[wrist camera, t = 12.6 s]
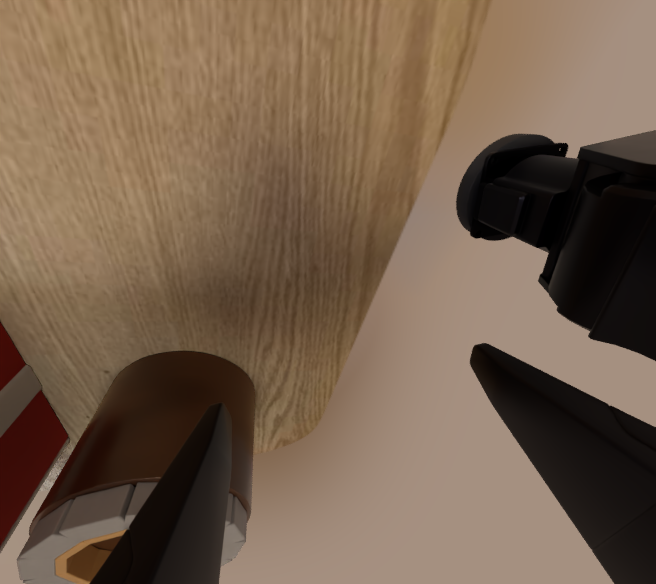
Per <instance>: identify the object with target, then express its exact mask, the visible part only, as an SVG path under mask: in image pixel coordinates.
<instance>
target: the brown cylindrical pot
mask: <svg viewBox="0 0 656 584" xmlns="http://www.w3.org/2000/svg"><path fill="white" fill-rule="evenodd" d="M219 402H223V403H224V404H225V406H226V408H227V410H228V412H229V413H230V415H231V419H232V464H231V479H230V488H229V493H231V494H233V497H234V496H236V497H237V498H238V500H239V501H240V503H241V504H242V506H243V507H244V509H245V510H246V512H247V521H248V520H249V518H250V514H251V497H252V470H253V443H254V416H255V389H254V386H253V384H252V382H251V380H250V378H249V377H248V376H247V374H246V373H245V372H244V371H243V370H241V369H240V368H239V367H237V366H236V365H234V364H233V363H231V362H229V361H227V360H225V359H222V358H220V357H216V356H213V355H209V354H205V353H199V352H187V351H178V352H166V353H160V354H156V355H152V356H148V357H146V358H143V359H140V360H138V361H136V362H134V363H132V364H131V365H129V366H128V367H126V368H125V369H124V370H123V371H122V372H120V373H119V374H118V376H117V377H116V378H115V380H114V381H113V383H112V385H111V387H110V388H109V390H108V392H107V393H106V395H105V397H104V399H103V400H102V402H101V404H100V405H99V407H98V409H97V411H96V412H95V414H94V416H93V418H92V419H91V421H90V423H89V424H88V426H87V428H86V430H85V431H84V433H83V435H82V436H81V438H80V440H79V442H78V443H77V445H76V447H75V448H74V450H73V452H72V454H71V455H70V457H69V459H68V461H67V462H66V464H65V466H64V467H63V469H62V471H61V473H60V474H59V476H58V478H57V479H56V481H55V483H54V485H53V486H52V488H51V490H50V491H49V493H48V495H47V497H46V499H45V500H44V502H43V504H42V505H41V507H40V509H39V510H38V512H37V514H36V516H35V518H34V519H33V521H32V523H31V525H30V530H29V535H31V534H32V532H33V530H34V528H35V527H36V525H37V523H38V522H39V521H40V520H41V519H43V518H44V517H45V516H47V515H48V514H50V513H51V512H53V511H54V510H55V509H57V508H58V507H60V506H61V505H63V504H64V503H66V502H67V501H68V500H70V499H73V500H75V498H76V497H78V496H82V495H86V494H90V493H94V492H98V491H102V490H106V489H110V488H114V487H118V486H122V485H126V484H132V485H133V486H134V487H135V488H136V485H137V483H138V482H159V480H160V479H161V477H162V476H163V474H164V473H165V471H166V470H167V468H168V467H169V465H170V464H171V462H172V461H173V459H174V458H175V456H176V455H177V453H178V452H179V450H180V449H181V447H182V446H183V444H184V443H185V441H186V440H187V438H188V437H189V435H190V434H191V432H192V431H193V429H194V428H195V426H196V425H197V423H198V422H199V420H200V419H201V417H202V416H203V414H204V413H205V411H206V410H207V408H208V407H209V406H210V405H211V404H214V403H219ZM122 536H123V535H122ZM122 536H118V537H115V538H111V539H107V540H103V541H100V542H96V543H92V544H91V545H92V546H94V547H96V548H98V549H101V550H109V551H112V550H113V549H114V548H115V546H116V545H117V543H118V542H119V540H120V539H121V537H122Z"/></svg>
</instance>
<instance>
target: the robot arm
mask: <svg viewBox="0 0 656 584" xmlns="http://www.w3.org/2000/svg"><path fill="white" fill-rule="evenodd" d="M559 150H560V151H559ZM567 151H568V144H567V143H553V144H546V145H539V146H532V147H524V148H517V149H510V150H503V151H496V152H491V153H489V154H488V155H487V156H486V158H485V160H484V165H483V170H482V175H481V180H480V185H479V190H478V195H477V200H476V205H475V210H474V215H473V220H472V225H471V230H470V236H472V237H473V238H476V239H478V238H484V237H490V236H495V235H501V234H507V235H509V236H513V237H515V238H517V239H519V240H521V241H523V242H525V243H528V244H530V245H532V246H534V247H536V248H539V249H542V250H544V251H546V252H548V253H549V254H548V257H547V260H546V264H545V266H544V270H543V273H542V274H540V277H539V280H538V282H539V283H540V284H541V285H542V286H543V287H544V289H545V290H546V291H547V292H548V293H549V295H550V297H551V298H552V300H553V301H554V302H555V304H556V305H557V306H558V307H557V311H558V313H560V314H561V315H562V316H564V317H565V318H567V319H568V320H569V321H571V322H573V323H575V324H577V325H579V326H581V327H582V328H585V329H587V330H589V331H590V333H589V335H588V337H589V338H590V339H593V340H597V341H601V342H605V343H609V344H614V345H617V346H620V347H623V348H626V349H629V350H631V351H634V352H637V353H640V354H642V355H644V356H646V357H648V358H651V359H653V360H655V361H656V130H655V131H650V132H645V133H641V134H637V135H632V136H627V137H623V138H619V139H614V140H610V141H605V142H601V143H596V144H592V145H587V146H584V147H581V148H580V151H579V154H578V157H577V158H578V159H575V158H567V157H566V154H567ZM493 157H494V160H493V162H492V163H491V160H492V158H493ZM477 231H478V233H476V232H477ZM470 365H471V367H472V369H473V371H474V373H475V374H476V376H477V378H478V380H479V382H480V384H481V385H482V387H483V389H484V391H485V393H486V394H487V396H488V398H489V400H490V402H491V403H492V405H493V407H494V408H495V410H496V411H497V412H498V414H499V416H500V417H501V418H502V420H503V421H504V423H505V424H506V426H507V427H508V429H509V430H510V431H511V433H512V435H513V436H514V437H515V439H516V440H517V442H518V443H519V445H520V446H521V448H522V449H523V450H524V452H525V453H526V455H527V456H528V458H529V459H530V461H531V462H532V464H533V465H534V467H535V468H536V469H537V471H538V472H539V474H540V475H541V477H542V478H543V480H544V481H545V483H546V484H547V485H548V487H549V489H550V490H551V491H552V493H553V494H554V496H555V497H556V499H557V500H558V502H559V503H560V505H561V506H562V507H563V509H564V510H565V512H566V513H567V515H568V516H569V518H570V519H571V521H572V522H573V523H574V525H575V526H576V528H577V529H578V531H579V532H580V534H581V535H582V537H583V538H584V540H585V541H586V543H587V544H588V545H589V547H590V548H591V549H592V551H593V553H594V555H595V556H596V557H597V559H598V560H599V562H600V563H601V565H602V566H603V568H604V569H605V571H606V572H607V574H608V575H609V576H610V578H611V579H612V581H613V582H614V584H656V427H654V426H652V425H650V424H647V423H645V422H643V421H641V420H639V419H637V418H635V417H633V416H631V415H629V414H627V413H625V412H623V411H621V410H619V409H617V408H615V407H612V406H609V405H608V404H607V403H605V402H603V401H601V400H599V399H597V398H595V397H593V396H591V395H589V394H587V393H585V392H583V391H581V390H579V389H577V388H575V387H573V386H571V385H569V384H567V383H565V382H563V381H561V380H559V379H557V378H555V377H553V376H551V375H549V374H547V373H545V372H543V371H541V370H539V369H537V368H535V367H533V366H531V365H529V364H527V363H525V362H523V361H521V360H519V359H517V358H515V357H513V356H511V355H509V354H507V353H505V352H503V351H501V350H499V349H497V348H495V347H493V346H491V345H489V344H486V343H482V344H478V345H475V346H474V347H473V350H472V354H471V358H470ZM231 464H232V419H231V415H230V413H229V412H228V410H227V408H226V406H225V404H224V403H223V402H219V403H214V404H211V405H210V406H209V407H208V408H207V410H206V411H205V413H204V414H203V416H202V417H201V419H200V420H199V422H198V423H197V425H196V426H195V428H194V429H193V431H192V432H191V434H190V435H189V437H188V438H187V440H186V441H185V443H184V444H183V446H182V447H181V449H180V450H179V452H178V453H177V455H176V456H175V458H174V459H173V461H172V462H171V464H170V465H169V467H168V468H167V470H166V471H165V473H164V474H163V476H162V477H161V479H160V480H159V482H158V483H157V485H156V486H155V488H154V489H153V491H152V492H151V494H150V495H149V497H148V498H147V500H146V501H145V503H144V504H143V506H142V507H141V509H140V510H139V512H138V513H137V515H136V516H135V518H134V519H133V521H132V522H131V524H130V525H129V529H127V530H126V531H125V533H124V534H123V536H122V537H121V539H120V540H119V542H118V543H117V545H116V546H115V548H114V549H113V550H112V552H111V553H110V555H109V556H108V558H107V559H106V561H105V562H104V563H103V565H102V566H101V568H100V569H99V571H98V572H97V574H96V575H95V576H94V578H93V579H92V580H91V582H90V583H89V584H219V575H220V567H221V558H222V549H223V541H224V532H225V523H226V514H227V505H228V497H229V488H230V479H231Z"/></svg>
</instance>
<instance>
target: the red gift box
mask: <svg viewBox="0 0 656 584" xmlns="http://www.w3.org/2000/svg"><path fill="white" fill-rule="evenodd" d="M41 388H42V386H41V384H40V382H39V381H38V379H37V377H36V376H35V374H34V372H33V370H32V369H31V367H30V366H28V365H26V364H25V363H24V361H23V359H22V358H21V356H20V354H19V353H18V351H17V349H16V348H15V346H14V344H13V343H12V341H11V339H10V337H9V336H8V334H7V332H6V331H5V329H4V327H3V326H2V324H1V322H0V553H1V551H2V550H3V548H4V546H5V544H6V543H7V541H8V540H9V538H10V537H11V535H12V533H13V532H14V530H15V528H16V527H17V525H18V524H19V522H20V520H21V519H22V517H23V515H24V514H25V512H26V510H27V509H28V507H29V505H30V504H31V502H32V501H33V499H34V497H35V496H36V494H37V492H38V491H39V489H40V488H41V486H42V484H43V483H44V481H45V479H46V478H47V476H48V474H49V473H50V471H51V470H52V468H53V466H54V465H55V463H56V461H57V460H58V458H59V456H60V455H61V453H62V452H63V450H64V448H65V447H66V445H67V443H68V442H69V440H70V439H69V438H67V437H68V435H67V433H66V431H65V430H64V428H63V426H62V425H61V423H60V421H59V420H58V418H57V416H56V415H55V413H54V411H53V410H52V408H51V406H50V405H49V403H48V401H47V400H46V398H45V396H44V395H43V393H42V391H41Z"/></svg>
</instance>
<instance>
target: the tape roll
mask: <svg viewBox="0 0 656 584" xmlns="http://www.w3.org/2000/svg"><path fill="white" fill-rule="evenodd" d="M157 483H158V482H138V483H137V485H136V488H135V487H134V486H133V485H132V484H126V485H122V486H118V487H114V488H110V489H106V490H102V491H98V492H94V493H90V494H86V495H82V496H78V497H76V498H75V500H73V499H70V500H68V501H67V502H66V503H64V504H63V505H61V506H60V507H58V508H57V509H55V510H54V511H53V512H51V513H50V514H48V515H47V516H45V517H44V518H43V519H41V520H40V521H39V522H38V523H37V525H36V527H35V528H34V530H33V532H32V534H31V535H30V537H29V539H28V541H27V542H26V544H25V546H24V548H23V549H22V551H21V553H20V555H19V557H18V558H17V565H18V569H19V575H20V579H21V580H23V583H26V584H89V583H90V582H91V580H92V579H93V578H94V576H95V575H96V574H97V572H98V571H99V569H100V568H101V566H102V565H103V563H104V562H105V561H106V559H107V558H108V556H109V555H110V553H111V552H112V551H109V550H101V549H98V548H96V547H94V546H92V545H91V544H92V543H96V542H100V541H103V540H107V539H111V538H115V537H118V536H122V535H123V534H124V533H125V531H126V530H127V529H129V525H130V524H131V522H132V521H133V519H134V518H135V516H136V515H137V513H138V512H139V510H140V509H141V507H142V506H143V504H144V503H145V501H146V500H147V498H148V497H149V495H150V494H151V492H152V491H153V489H154V488H155V486H156V485H157ZM246 525H247V512H246V510H245V509H244V507H243V506H242V504H241V503H240V501H239V500H238V498H237V497H236V496H234V497H233V494H231V493H229V497H228V505H227V514H226V523H225V532H224V541H223V549H222V558H221V566H222V565H224V564H226V563H228V562H230V561H232V559H233V558H235V557H236V556H237V554H238V552H239V551H240V549H241V548H242V546H243V545H244V543H245V542H246Z"/></svg>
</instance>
